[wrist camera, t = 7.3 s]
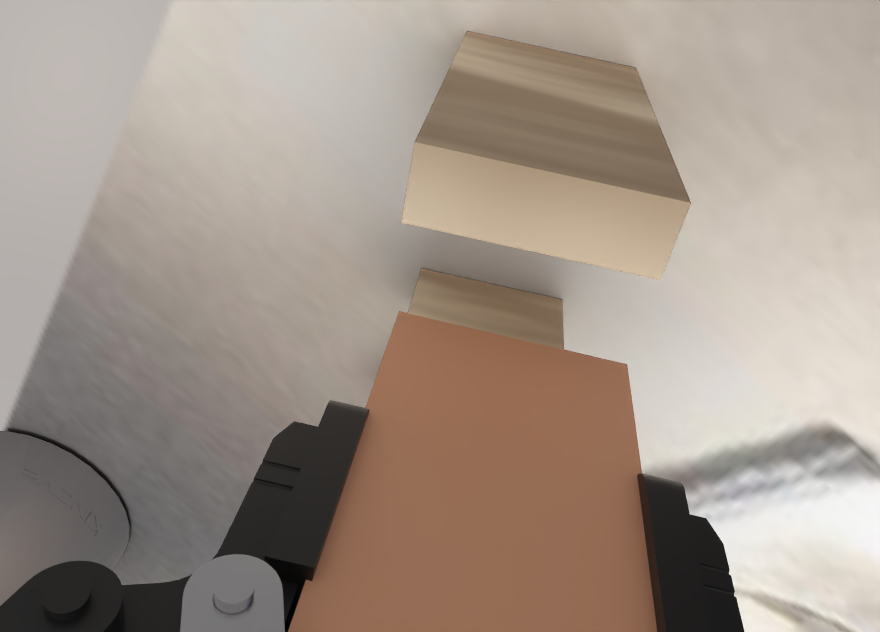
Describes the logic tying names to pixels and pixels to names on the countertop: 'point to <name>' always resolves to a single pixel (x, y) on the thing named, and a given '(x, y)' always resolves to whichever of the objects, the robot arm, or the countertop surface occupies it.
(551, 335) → the domino
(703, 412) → the countertop surface
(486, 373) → the domino
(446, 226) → the domino
